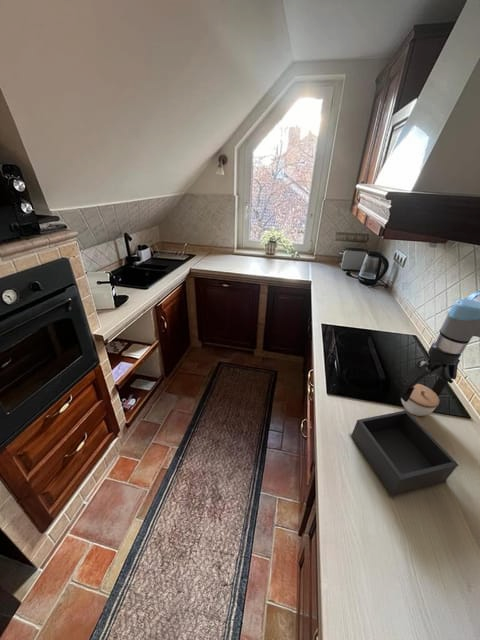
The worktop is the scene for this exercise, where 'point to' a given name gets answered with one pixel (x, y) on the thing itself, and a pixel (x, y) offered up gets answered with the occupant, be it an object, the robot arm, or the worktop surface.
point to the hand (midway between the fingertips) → (419, 396)
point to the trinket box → (421, 401)
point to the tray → (402, 452)
